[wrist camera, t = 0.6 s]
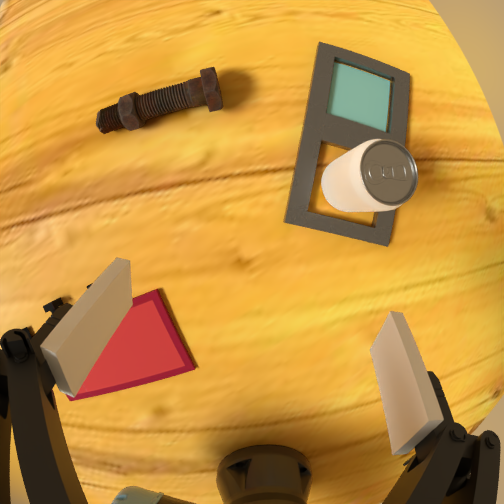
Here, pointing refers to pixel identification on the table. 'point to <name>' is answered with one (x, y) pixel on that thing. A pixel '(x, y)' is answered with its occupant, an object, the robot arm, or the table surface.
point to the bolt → (161, 102)
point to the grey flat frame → (343, 141)
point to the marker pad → (359, 96)
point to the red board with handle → (135, 349)
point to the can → (371, 177)
